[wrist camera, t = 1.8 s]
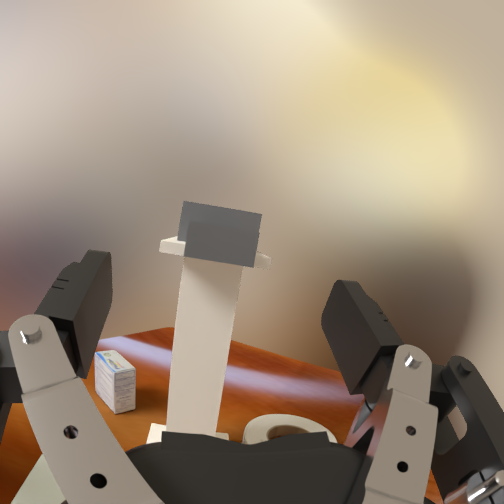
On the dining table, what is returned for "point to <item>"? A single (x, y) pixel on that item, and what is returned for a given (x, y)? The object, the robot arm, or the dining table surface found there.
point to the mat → (39, 487)
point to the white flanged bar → (201, 342)
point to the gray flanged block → (219, 233)
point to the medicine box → (115, 381)
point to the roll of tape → (280, 428)
